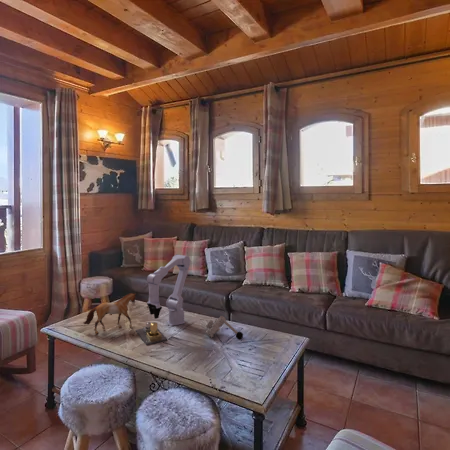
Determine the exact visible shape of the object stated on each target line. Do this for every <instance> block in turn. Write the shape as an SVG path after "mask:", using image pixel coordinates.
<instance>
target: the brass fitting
mask: <svg viewBox="0 0 450 450" xmlns="http://www.w3.org/2000/svg"><path fill="white" fill-rule="evenodd" d="M158 329H159V328H158V322H156V321H155V322H154V321H153V322H150V336H151V337H152V336H156V335H158Z"/></svg>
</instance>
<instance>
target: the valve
mask: <svg viewBox="0 0 450 450" xmlns="http://www.w3.org/2000/svg"><path fill="white" fill-rule="evenodd" d="M223 325H226V326H227V328H229V329H230V330H231V331H232V332H233V333H234V334H235V337H236V339H237V340H242V339H243V338H244V334H243V332H242V331H237V330H236V329H235V328H234V327H233V326H232V325H231V324H230V323H229V322H228V321H227V319H226V317H224V316H223V315H220V316H219V317H218V318H216V319H215V320H212V319H210V320H209V321H208V322H207V324H206V325H205V327H206V329H207V330H206V331H205V334H206V335H208V337H210V338H211V339H212V338H214V336H215V335H214V334H217V332H219V331H220V330H221V327H222V326H223Z"/></svg>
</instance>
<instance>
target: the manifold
mask: <svg viewBox="0 0 450 450" xmlns="http://www.w3.org/2000/svg"><path fill="white" fill-rule="evenodd" d="M150 324H151V322H150V321H147V322H146V324H145V326H144V327H142V328H138V329H135V332H136V334H137V335H138V336H139V337H140V339H141V340H142V342H143V343H144V344H145V345H146V346H149V345H153V344H154V345H155V344H159V343H162V342H167V341H168V338H167V337H166V336H165V335H164V334H163V332H162V331H161V330H160V329H159V328H158V335H156V336H152V337H151V336H150Z"/></svg>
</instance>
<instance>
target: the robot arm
mask: <svg viewBox="0 0 450 450" xmlns="http://www.w3.org/2000/svg"><path fill="white" fill-rule="evenodd" d="M190 264H191V258H190V256H189V255H184V254H183V255H182V254H174V255H173V256H172V258H171V260H170V261H169V262H167V264H166V265H165V266H160V267H159V268H158V269H157V270H156V271H154V272H153V273H150V274H148V275H147V277H146V282H147V285H148V301H147V302H146V305H147V306H148V310H149V313H150V314H149V315H153V317H154V320H156V319H159V316H160V313H161V310H162V309H163V307H162V306H161V304H160V286H159V285H160V284H161V281H162V279H163V278H164V277H166V276H167V275H168V273H169V271H170V270H171V269H173V268H174V267H175V266H176V267H177V268H178V269H179V271H178V275H177V279H176V282H175V285H174V288H173V292H172V294H170V295H169V296H168V298H167V300H166V301H165V306H166V308H167V310H168V320H167V321H166V323H167V324H168V325H169V326H170V327H174V326H178V325H183V324H186V322H185V311H184V308H183V305H184V299H183V297H182V293H183V289H184V286H185V282H186V279H187V275H188V272H189V267H190Z"/></svg>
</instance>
